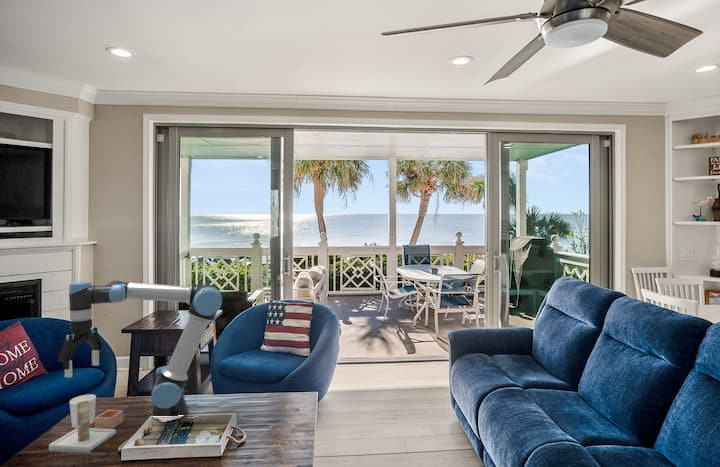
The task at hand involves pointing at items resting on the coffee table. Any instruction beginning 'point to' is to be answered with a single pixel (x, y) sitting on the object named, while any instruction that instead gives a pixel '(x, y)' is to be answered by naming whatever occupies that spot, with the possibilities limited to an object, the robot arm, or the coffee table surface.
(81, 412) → the birch dowel
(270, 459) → the coffee table surface
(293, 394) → the coffee table surface
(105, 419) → the terracotta square planter
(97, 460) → the coffee table surface
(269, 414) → the coffee table surface
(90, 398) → the candle holder
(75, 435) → the off-white tray
